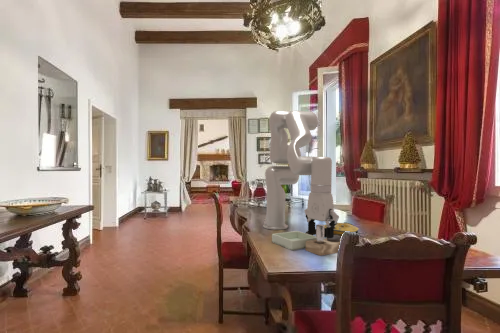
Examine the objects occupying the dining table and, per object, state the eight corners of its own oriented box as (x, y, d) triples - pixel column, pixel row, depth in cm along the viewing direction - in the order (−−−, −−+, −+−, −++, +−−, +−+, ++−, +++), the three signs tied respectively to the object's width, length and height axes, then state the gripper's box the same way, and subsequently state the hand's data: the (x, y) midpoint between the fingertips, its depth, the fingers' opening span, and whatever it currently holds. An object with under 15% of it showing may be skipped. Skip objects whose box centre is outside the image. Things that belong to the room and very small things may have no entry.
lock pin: (314, 251, 119) (314, 224, 119) (320, 250, 120) (320, 224, 120) (319, 253, 116) (320, 226, 116) (325, 252, 118) (326, 225, 118)
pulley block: (297, 221, 145) (348, 217, 158) (296, 233, 146) (347, 229, 159) (315, 232, 133) (369, 227, 145) (313, 245, 134) (367, 239, 146)
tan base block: (320, 255, 113) (320, 241, 113) (305, 250, 120) (305, 236, 120) (347, 250, 120) (348, 237, 120) (332, 245, 127) (332, 233, 127)
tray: (271, 242, 131) (271, 233, 131) (297, 238, 138) (297, 230, 138) (292, 250, 119) (292, 241, 119) (318, 246, 126) (319, 237, 126)
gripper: (298, 188, 123) (297, 231, 124) (330, 191, 109) (329, 241, 109) (313, 187, 127) (312, 230, 127) (345, 191, 112) (345, 238, 112)
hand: (320, 235), depth 118 cm, fingers open, 9 cm apart
